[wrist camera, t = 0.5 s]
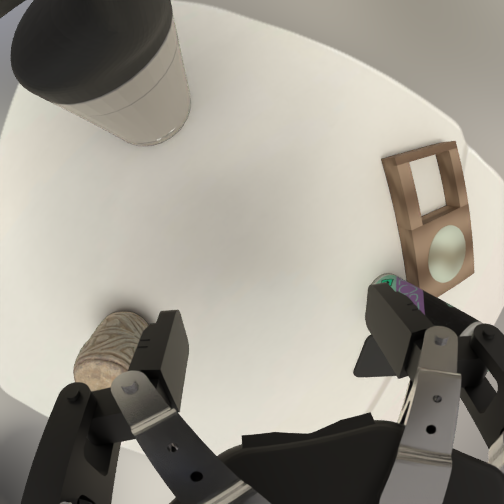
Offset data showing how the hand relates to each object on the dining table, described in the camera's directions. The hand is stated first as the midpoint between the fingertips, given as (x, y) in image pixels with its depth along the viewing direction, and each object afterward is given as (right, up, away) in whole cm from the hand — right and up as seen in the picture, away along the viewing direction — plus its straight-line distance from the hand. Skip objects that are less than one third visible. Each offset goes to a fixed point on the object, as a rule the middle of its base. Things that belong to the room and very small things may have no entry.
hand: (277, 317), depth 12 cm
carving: (-16, -7, +21) cm, 27 cm away
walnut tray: (+24, +7, +23) cm, 34 cm away
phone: (+22, -13, +28) cm, 38 cm away
